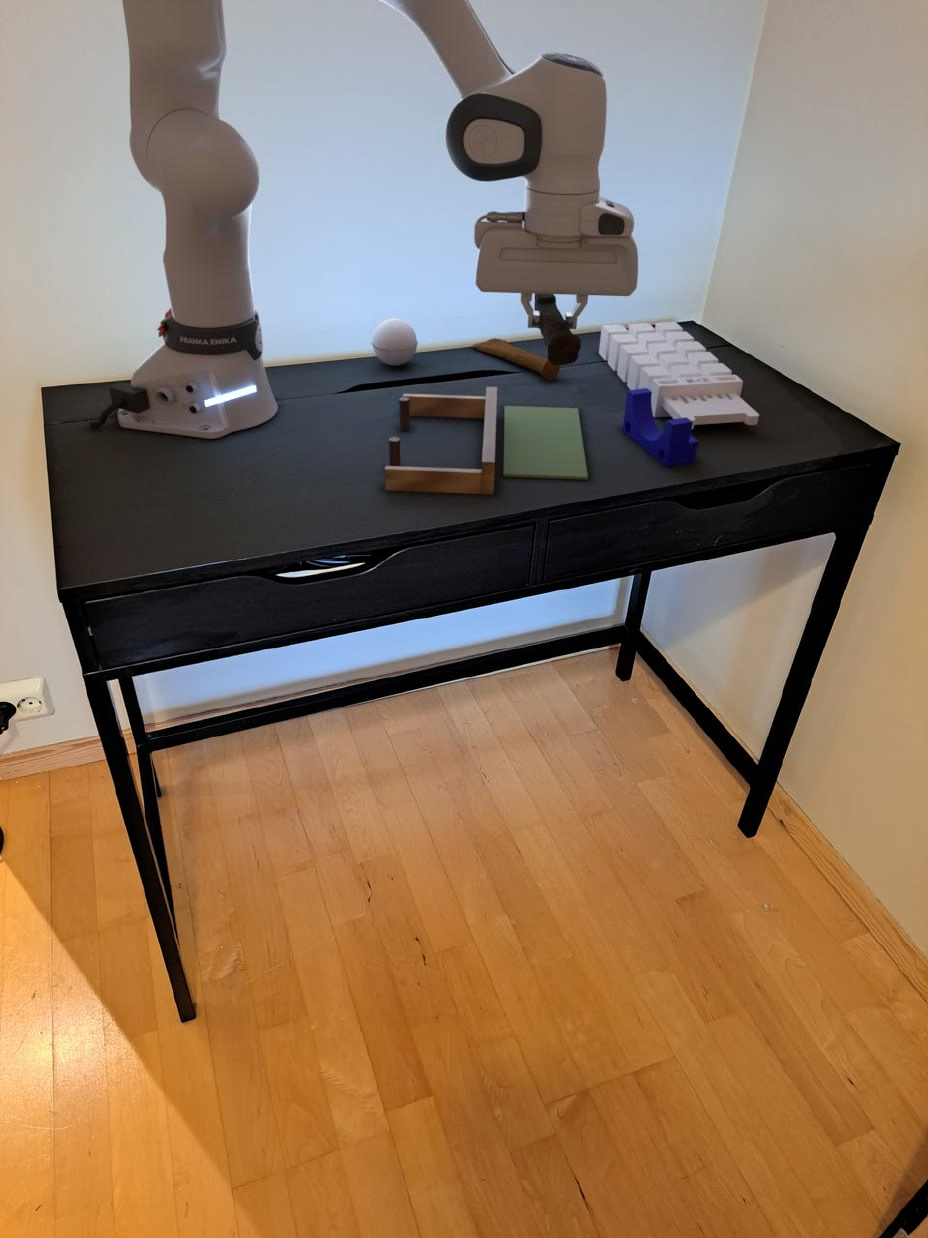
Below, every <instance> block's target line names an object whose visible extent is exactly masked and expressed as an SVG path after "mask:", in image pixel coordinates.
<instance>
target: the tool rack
mask: <svg viewBox="0 0 928 1238" xmlns="http://www.w3.org/2000/svg"><path fill="white" fill-rule="evenodd" d="M398 403H399V406H398V409H399V430H401V431H409V430H410V428H411V423H410V422H411V420H410V417H435V418H436V417H439V418H466V419H484V420H483V436H482V437H483V440H482V453H481V455H482V456H481V468H480V469H478V468H456V467H455V468H454V467H453V468H452V467H426V466H404V465H403V466H402V464H401V462H402V461H401V438H400V437H397V436H392V437H390V438H388V448H389V449H388V450H389V452H388V453H389V465H385V467H384V488H385V491H387V492H388V491H392V492H418V493H441V494H442V493H445V494H471V495H472V494H473V495H494V492H495V472H496V471H495V470H496V445H497V444H496V441H497V414H498V412H497V410H498V386H486V387H485V395H484V396H483V395H481V396H480V395H479V396H478V395H457V394H456V395H455V394H453V395H452V394H426V393H425V394H424V393H402V397H399V399H398Z"/></svg>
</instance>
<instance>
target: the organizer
mask: <svg viewBox="0 0 928 1238" xmlns="http://www.w3.org/2000/svg"><path fill="white" fill-rule="evenodd" d="M600 329H601V331H600V339H599V348H598V354H599V355H600V357H601V358H602V359H603V360H604V361H605V362H606V361H607V364H608V366H609V367H610V368H611V370H613V371H614V372H616V375H617V376H618V377H619V379H620V380H621V381H622V382H623V383H626V386H627V387H628V389H629V390H635V389H643V388H647V389H649V390H650V391H651V392H652V395H651V406H652V413H653V417H654V418H664V417H671V418H672V419H679V418H685V417H687V418H688V419H690V420H691V421H692V422H693V423H692V428H691V430H693V429H694V428H695V426H696V425H697V426H698V425H699V426H700V425H711V424H712V425H713V424H726V423H727V424H728V423H742V422H743V423H744V424H745V425H746V426H747V425H748V426H756V425H758V423H759V417H760V413H758V412H757V411H756V410H755V409H754V408H752V406H750V405H749V404H748V402H746V401H745V400H744V399H743V398H742V397H741V394H742V390H743V384H744V380H742V379H741V378H740V377H739V375H737V374H732V372H733V371H732V370H731V369H730V368H729V367H727V365H725V364H724V363H723V362H719V358H717V357H716V356H715V355H714V354H713V353H712V352H711V351H707V348H706V347H705V346H703V344H701V343H700V342H699V341H696V340H695V338H694V336H692V335H691V334H690V333H689V332H688V331H685V330H684V327H682V326H681V325H680V324H679V323H677V321H666V322H665V321H664V322H655V326H654V327H653V326H652V324H650V323H649V322H644V323H642V322H641V323H629V324H628V328H626V327H625V326H624V325H623V324H621V323H619V324H602V325H601V328H600Z"/></svg>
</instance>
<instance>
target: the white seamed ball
mask: <svg viewBox="0 0 928 1238" xmlns="http://www.w3.org/2000/svg"><path fill="white" fill-rule="evenodd" d="M418 344H419V343H418V340H417V334H416V332H415V330H414V328H413V327H412V326H411V325H410V324H409V323H408V322H407V321H404V320H402V319H399V318H389V319H386V320H384V321H382V322H381V323H380V324H378V326H377V327H376V328H375V330H374V331H373V334H372V341H371V345H372V349H373V352H374V354H375V355H376V357H377V358H378V360H380V361H381V362H382V363H383V364H385V365H389V366H391V367H392V366H393V367H399V366H402V365H404V364H407V363H408V362H409V361H411V359H412V358H413V357H414V355H415V354H416V353H418V354H420V353H419V351H417V348H418Z"/></svg>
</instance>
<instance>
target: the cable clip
mask: <svg viewBox="0 0 928 1238" xmlns="http://www.w3.org/2000/svg"><path fill="white" fill-rule="evenodd" d="M626 393H627V394H626V400H625V408H624V417H623V423H622V432H624V434H626V435H627V436H628V437H630V438H631V439H632V440H633V441H635V442H636V443H637V444H638V445H639V446H641V447H642V448H643V449H644V450H646V452H648V453H649V454H650V455H651V456H652V457H654V458H655V459H656V460H657V461H658V462H660V463H661V464H662V465H663V466H665V467H671V466H672V467H673V466H677V465H684V464H689V463H695V462H696V456H697V452H698V446H699V440H698V439H696V438H695V437H694V436H692V434H691V433H692V429H691V428H692V423H693V422H692V421H691V420H690V419H688V418H687V417H685V418H679V419H673V418H672V419H666V422H665V427H664V429H663V431H661V430H660V428H659V427H658V425H657V423H656V420H655V417H654V416H653V413H652V406H651V395H652V392H651V391H650V390H649V389H647V388H643V389H635V390H630V389H629V390H627V392H626Z"/></svg>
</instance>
